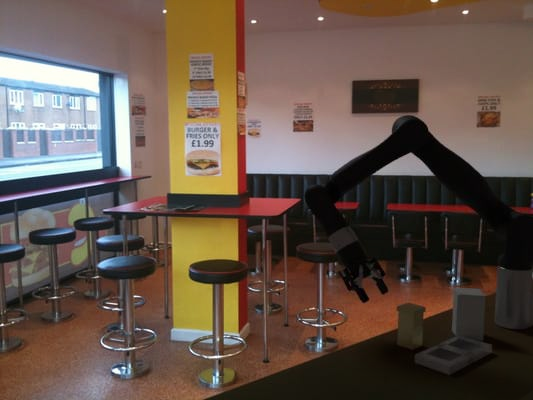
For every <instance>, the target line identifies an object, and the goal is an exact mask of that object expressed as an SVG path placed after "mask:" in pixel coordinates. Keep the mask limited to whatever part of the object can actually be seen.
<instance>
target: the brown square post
mask: <svg viewBox="0 0 533 400" xmlns="http://www.w3.org/2000/svg"><path fill="white" fill-rule="evenodd" d="M426 307H427V306H423V305H420V304H415V303H411V302H406V303H402V304H400V305H397V306H396V312H397V313H398V315H397V320H398V321H397V341H396V344H397V346H399V347H402V348H406V349H409V350H410V351H413V350H415V349H418V348H420V347H422V346H423V339H424V336H423V335H424V316H425V312H426V309H427V308H426Z"/></svg>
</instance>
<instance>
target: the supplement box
mask: <svg viewBox="0 0 533 400" xmlns="http://www.w3.org/2000/svg"><path fill="white" fill-rule="evenodd" d="M452 300H453V301H452V320H451V321H452V322H451V333H453V334H454V335H455V336H454V337H456V336H458V335H460V336H463V337H467V338H470V339H474V340H477V341H480V342H484V331H485V310H486V295H485V294H484V292H483V290H482V289H480V288H470V287H469V288H467V287H466V288H465V287H464V288H463V287H454V288H453V299H452Z"/></svg>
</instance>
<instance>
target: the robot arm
mask: <svg viewBox="0 0 533 400" xmlns="http://www.w3.org/2000/svg"><path fill="white" fill-rule="evenodd" d="M408 154H412V155H414V157H416V158H418V159H419V160H420V161H421V162H422V163H423V164H424V165H425V166H426V167H427V168H428V170H429V171H430V172H431V174H433V176H434V177H435V178H436V179H437V181H439V182H440V183H441V184H442V186H444V187H445V189H446V190H447V191H449V192H450V193H452V195H453V196H454V197H456V198H457V199H458V200H459V201H461V202H462V203H463V204H464V205H466V206H467V207H468V208H469V209H471V210H473V212H474V213H476V214H477V215H479V216H480V217H481V218H482V219H483V220H484V222H485V223H487V225H488V226H489V227H490V228H491V229H492V230H493V232H494V233H495V234H496V235H497V236H498V237H499V238H501V239H502V240H503V241H505V246H504V247H505V248H504V252H503V254H501V255H499V256H498V257H497V268H496V270H497V274H496V288H495V289H496V292H495V307H494V323H495V325H496V326H499V327H501V328H505V329H512V330H526V329H528V328H531V327H533V293H532V283H533V282H532V281H533V279H532V278H533V216H532V215H530V214H528V213H524V212H520V211H517V210H515V209H513V208H512V207H511V206H509V205H507V204H506V203H505V202H504V201H502V200H501V199H500V198H499V197H498V196H497V195H496V194H495V193H494V191H493V189H492V187H491V186H490V184H489V182H488V181H487V179H486V178H485V177H484V176H483V175H482V174H481V173H480V172H479V171H478V170H477V169H475V167H474V166H472V165H471V163H470V162H468V161H466V160H465V159H464V158H463V157H461V156H460V155H458V154H457V153H456V152H454V151H453V150H451V149H450V148H448V147H447V146H445V145H444V144H443V143H442V142H440V140H438V139H437V138H436V137H435V136H434V135H433V134H432V133H431V131H430V130H429V127H428V125H427V124H426V123H425V121H423V120H422V119H421V118H419V117H418V116H415V115H412V114H411V115H410V114H407V115H402V116H399V117H397V118H396V119H395V120H394V122H393V124H392V126H391V133H390V135H389V136H387V138H385V139H384V140H383V141H382V142H380V143H379V144H377V145H376V146H375V147H373V148H371V149H369V150H368V151H365V152H364V153H362V154H360V155H357V156H356V157H354V158H352V159H350V160H349V161H347V162H346V163H345V164H343V165H342V166H341V167H339V168H338V169H337V170H335V171H334V172H333V173H332V174H331V177H330V179H329V180H327V181H326V182H325V183H323V184H317V183H315V184H311V185H309V186H308V187H307V188H306V190H305V191H304V195H303V196H304V200H305V203H306V206H307V207H308V209H309V211H310V212H311V214H312V215H314V217H315V219H316V220H317V221H318V223H319V224H320V226H321V228H322V230H323V232H324V234H325V236H326V238H327V239H328V241H329V244H330V246H331V248H332V249H333V251H334V254H335V255H336V257H337V258H338V260H339V262H340V264H341V265H342V267H345V268H343V269H341V270H340V271H339V275H340V277H341V279H342V281H343V283H344V285H345V287H346V290H347V291H349V292H355V293H356V295H357V296H358V298H359V300H360V301H361V302H362V304H366V303H368V302H369V301H370V297H369V295H368V294H367V292H366V290H365V288H364V287H363V279H368V280H371V281H373V282H375V284H376V287H377V289H378V290H379V292H380V294H381V295H383V296H384V295H386V294H388V293H389V289H388V286H387V285H386V282H385V281H384V280H383V279H384V277H385V276H386V272H385V271H384V269H383V268H382V265H381V264H380V263H379V261H378V259H377V257H374V256H373V257H372V258H371V259H367V257H366V255H367V251H366V250H365V248H364V246H363V245H362V243H361V242H360V241H361V240H359V238H358V236H357V235H356V233H355V231H354V230H353V229H352V228H351V226H350V225H349V223H348V222H347V220H346V217H345V216H344V215H343V214H342V212H341V211H340V210H339V209H338V208H337V207H336V205H335V204H336V203H338V202H339V201H340V200H341V199H342V198H343V197H344V196H345V195H346V194H347V193H348V192H350V191H351V190H353V189H354V188H356V187H357V186H359V185H360V184H362V183H363V182H364V181H366V180H368V179H369V178H371V176H372V175H374V174H376V173H377V172H379V171H380V170H382V169H383V168H385V167H387V166H388V165H390V164H392V163H393V162H395V161H397V160H399V159H400V158H403V157H404V156H406V155H408Z"/></svg>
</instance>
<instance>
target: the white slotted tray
mask: <svg viewBox="0 0 533 400" xmlns="http://www.w3.org/2000/svg"><path fill="white" fill-rule="evenodd" d="M492 349H493V344H490V343H488V342H487V343H486V342H484V341H478V340H475V339H471V338H468V337H463V336H460V335H458V336H453V337H451V338H449V339H447V340H445V341H442V342H440V343H438V344H436V345H433V346H431V347H429V348H426V349H424V350H422V351H419V352H417V353H415V354H414V364H416V365H419V366H423V367H426V368H428V369H431V370H433V371H436V372H439V373H442V374H445V375H448V376H451V375H452V374H454V373H457V372H458V371H459V370H462V369H464V368H465V367H468V366H469V365H471V364H473V363H475V362H477V361H479V360H481V359H482V358H484V357H486V356H488V355H490V354H492V352H493V351H492Z"/></svg>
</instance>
